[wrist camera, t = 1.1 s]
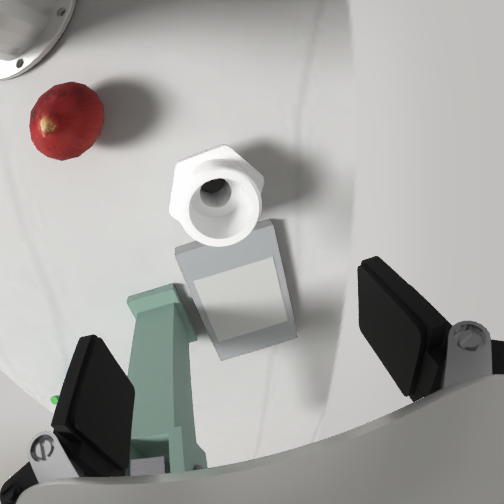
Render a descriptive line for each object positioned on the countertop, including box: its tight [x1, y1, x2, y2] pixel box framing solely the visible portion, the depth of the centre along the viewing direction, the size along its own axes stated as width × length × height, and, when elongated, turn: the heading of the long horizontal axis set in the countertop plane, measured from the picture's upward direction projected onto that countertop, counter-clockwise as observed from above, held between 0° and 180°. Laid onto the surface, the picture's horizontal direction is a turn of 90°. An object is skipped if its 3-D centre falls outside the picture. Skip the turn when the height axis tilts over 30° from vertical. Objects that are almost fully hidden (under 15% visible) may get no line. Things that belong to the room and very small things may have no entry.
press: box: [111, 219, 298, 477], centre depth 22 cm, size 14×16×20 cm
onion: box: [29, 82, 104, 161], centre depth 18 cm, size 6×6×8 cm
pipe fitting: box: [169, 144, 264, 247], centre depth 22 cm, size 6×7×8 cm
